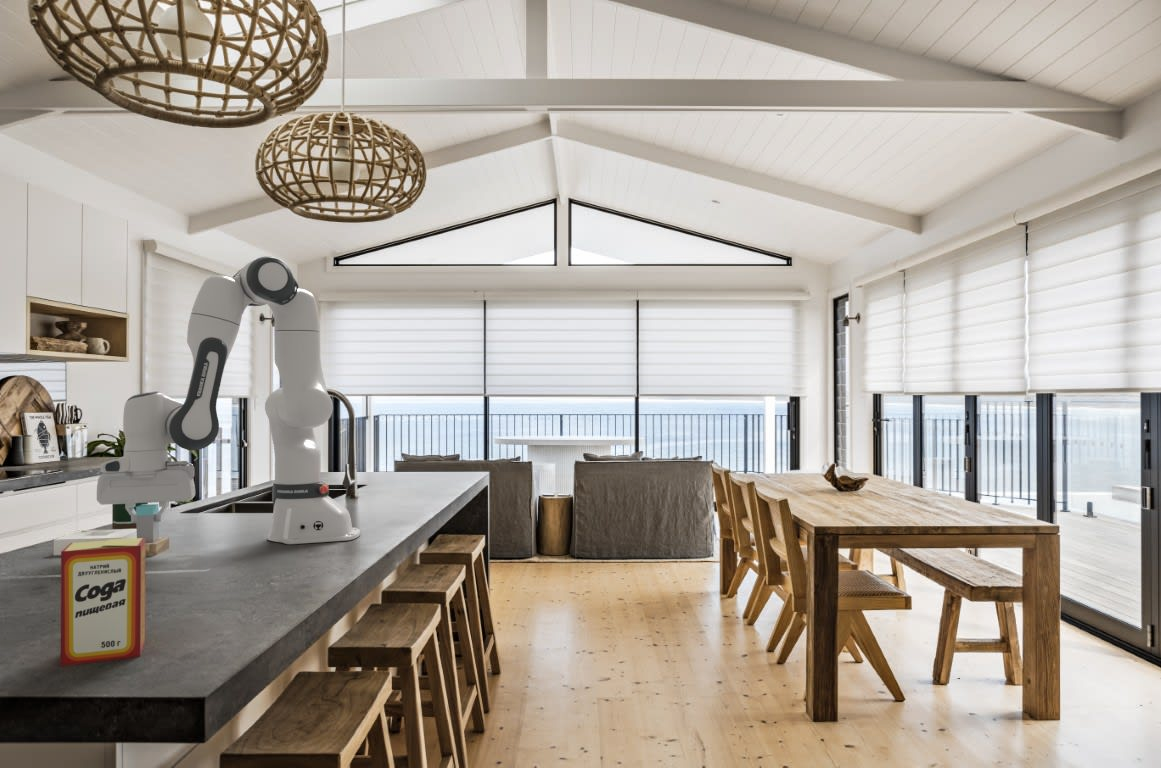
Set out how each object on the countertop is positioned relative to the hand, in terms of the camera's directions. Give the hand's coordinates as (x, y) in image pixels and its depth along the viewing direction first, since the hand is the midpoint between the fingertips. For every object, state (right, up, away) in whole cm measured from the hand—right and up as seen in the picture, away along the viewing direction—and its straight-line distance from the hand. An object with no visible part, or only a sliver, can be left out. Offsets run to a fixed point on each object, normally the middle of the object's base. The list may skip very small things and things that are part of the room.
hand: (147, 522), depth 178 cm
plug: (0, -5, 0) cm, 5 cm away
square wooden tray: (-1, -7, -1) cm, 7 cm away
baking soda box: (+32, -7, -68) cm, 76 cm away
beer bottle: (-15, -8, +18) cm, 25 cm away
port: (-13, -7, +3) cm, 16 cm away
